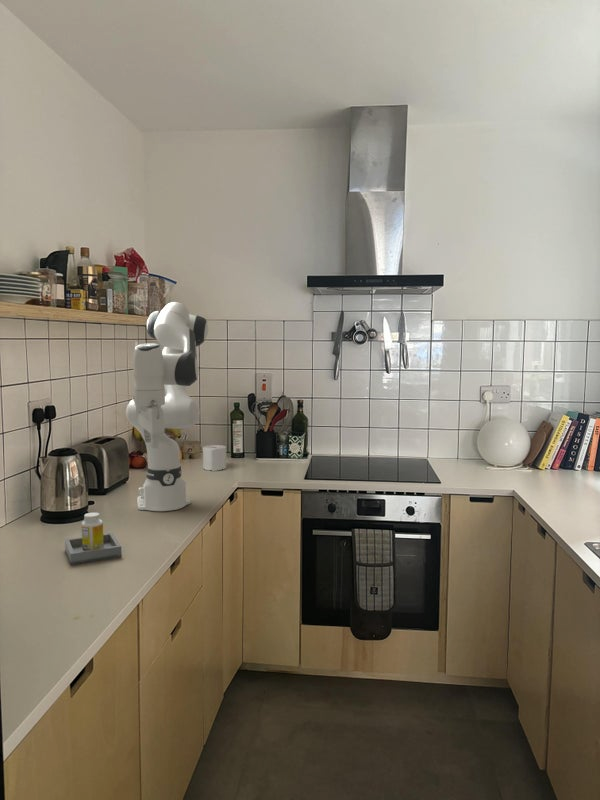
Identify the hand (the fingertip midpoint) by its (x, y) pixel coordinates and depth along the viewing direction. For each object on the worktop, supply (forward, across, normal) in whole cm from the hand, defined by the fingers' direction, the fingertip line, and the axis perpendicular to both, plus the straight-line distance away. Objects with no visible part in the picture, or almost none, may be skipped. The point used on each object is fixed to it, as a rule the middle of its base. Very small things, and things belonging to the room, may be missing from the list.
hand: (151, 444), depth 180 cm
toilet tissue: (+31, +82, -47) cm, 99 cm away
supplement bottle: (+27, -9, +19) cm, 34 cm away
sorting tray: (+27, -9, +19) cm, 34 cm away
